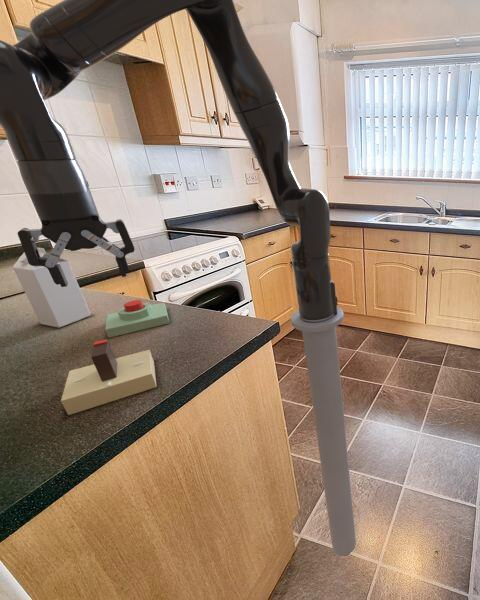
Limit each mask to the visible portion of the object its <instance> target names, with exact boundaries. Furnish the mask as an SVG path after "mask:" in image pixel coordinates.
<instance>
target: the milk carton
mask: <svg viewBox="0 0 480 600" xmlns="http://www.w3.org/2000/svg"><path fill="white" fill-rule="evenodd" d="M37 249H38V251H39V254H40V257H44V258H48V257H49V255H50V253H47V252H46V250H45V248H44V247H43V248H42V247H37ZM57 263H58V264H60V266H61V268H62V270H63V273H64V275H65V277H66V279H67V282H68V286H66V287H61V285H60V284H58V285H57V284H55V283H54V281H53V279H52V277H51V275H50V272H49V270H48V269H47V268H46V267H44V266H31V265H30V264H29V263H28V260H27V257H26V255H25V252H24V251H23V253H22V254H21V255H20V256H19V257H18V259H17V261H16V262H15V263H14V264H13V265H12V269H13V271H14V273H15V275H16V277H17V279H18V281H19V283H20V285H21V287H22V289H23V291H24V293H25V295H26V297H27V299H28V301H29V303H30V305H31V307H32V310H33V311H34V314H35V315H36V317H37V319H38V321H39V324H40V325H44V326H49V327H53V328H62V327H65V326H67V325H70V324H73V323H75V322H78V321H80V320H83V319H86V318H88V317H90V316H92V315H91V314H92V313H91V311H90V309H89V306H88V303H87V302H86V299H85V297H84V295H83V292H82V290H81V288H80V285H79V282H78V280H77V278H76V276H75V273H74V272H73V269H72V267H71V263H70V262H69V260H68V259H64V258H62V257H59V259H58V261H57Z"/></svg>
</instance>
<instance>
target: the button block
mask: <svg viewBox="0 0 480 600" xmlns="http://www.w3.org/2000/svg"><path fill="white" fill-rule="evenodd" d="M142 303H143V306H144V308H143V309H141V310H138V311H133V312H126V310H125V307H124V306H123V307H121V308H120V309H118V311H117V312H116V311H115V312H111V313H107V314H106V321H105V327H104V330H105V333H106V336H107V338H108V339H110V338H114V337H117V336H122V335H126V334H130V333H134V332H138V331H143V330H147V329H152V328H155V327H159V326H163V325H167V324H170V318H169V315H168V310H167V307H166V303H165V302H158V303H154V304H151V303H148V302H142Z"/></svg>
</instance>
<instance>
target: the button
mask: <svg viewBox="0 0 480 600" xmlns="http://www.w3.org/2000/svg"><path fill="white" fill-rule="evenodd" d="M143 303H144V302H143V301H142V300H140V299H136V300H130V301H126V302H125V303H124V304H123V307H125V310H126V312H133V311H138V310H141V309H143V308H144V306H143Z"/></svg>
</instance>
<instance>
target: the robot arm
mask: <svg viewBox="0 0 480 600" xmlns="http://www.w3.org/2000/svg"><path fill="white" fill-rule="evenodd" d="M184 10H186V12H187V13H188V15H189V17H190V18H191V20H192V22H193V24H194V25H195V28H196V29H197V31H198V33H199V35H200V36H201V39H202V40H203V42H204V45H205V46H206V49H207V51H208V53H209V56H210V58H211V60H212V63H213V66H214V68H215V72H216V74H217V76H218V79H219V82H220V84H221V86H222V89H223V92H224V94H225V97H226V99H227V101H228V103H229V105H230V108H231V110H232V112H233V115H234V116H235V118H236V120H237V123H238V125H239V126H240V128H241V131H242V133H243V135H244V137H245V138H246V140H247V142H248V144H249V146H250V148H251V150H252V153H253V155H254V157H255V159H256V162H257V163H258V166H259V168H260V170H261V172H262V174H263V176H264V179H265V182H266V183H267V186H268V189H269V192H270V194H271V197H272V200H273V202H274V206H275V208H276V211H277V212H278V215H279V217H280V218H281V219H282V221H283V222H284V223H286V224H287V225H289V226H291V227H296V228H299V235H300V236H299V240H297V241H294V242H293V243H292V244H291V245H290V256H291V263H292V268H293V276H294V284H295V291H296V297H297V305H298V306H297V307H298V310H299V313H300V314H299V316H300V319H301V320H302V321H304V322H309V323H318V322H323V321H327V320H329V319H331V318H332V317H333V316H335V315H337V307H338V305H339V304H338V296H337V295H336V294H337V293H336V284H335V282H334V281H333V280H332V271H331V262H330V250H329V249H330V248H329V247H330V245H331V244H330V243H331V216H330V215H331V214H330V205H329V202H328V200H327V197H326V195H325V194H324V193H323V192H322V191H321V190H319V189H314V188H303V187H301V186H300V184H299V182H298V181H297V178H296V176H295V174H294V171H293V169H292V166H291V162H290V126H289V122H288V118H287V115H286V113H285V111H284V108H283V105H282V102H281V100H280V98H279V95H278V93H277V91H276V89H275V87H274V85H273V83H272V80H271V79H270V77H269V75H268V73H267V71H266V70H265V68H264V66H263V64H262V62H261V61H260V59H259V58H258V56H257V54H256V52H255V51H254V49H253V47H252V46H251V44H250V42H249V40H248V37H247V35H246V34H245V30H244V29H243V26H242V23H241V21H240V17H239V14H238V13H237V8H236V6H235V4H234V0H61V1H60V2H58V3H55V5H53V6H51V7H49V8H47V9H45V10H44V11H42V12H40V13H39V14H37V15H35V16H34V17H33V18H32V19H31V20H30V22H29V30H30V33H29V34H28V35H26V36H25V37H24V38H22V39H21V40H20V41H18V42H17V43H15V44H10V43H8V42H6V41H3V40H0V127H1V128H2V130H3V132H4V134H5V137H6V139H7V141H8V144H9V147H10V148H11V151H12V153H13V155H14V158H15V160H16V163H17V166H18V169H19V173H20V177H21V179H22V182H23V184H24V186H25V188H26V191H27V194H28V195H29V198H30V200H31V202H32V205H33V207H34V209H35V211H36V213H37V216H38V218H39V221H40V224H41V228H27V227H22V228H21V229H19V230H18V231H17V236H18V240H19V242H20V244H21V247H22V250H23V253H24V252H25V255H26V257H27V260H28V263H29V264H30V265H31V266H44V267H46V268H47V269H48V270H49V272H50V275H51V277H52V279H53V281H54V283H55V284H57V285H58V284H60V285H61V287H66V286H68V282H67V279H66V277H65V275H64V273H63V270H62V268H61V266H60V264H58V263H57V261H58V259H59V258H61V256H62V254H63V252H64V250H66V251H70V252H75V251H79V250H84V249H86V250H91V249H95V248H97V247H100V248H102V249H103V250H105V251H107V252H109V253H110V254H112V255H113V256H115V261H116V264H117V267H118V270H119V272H120V275H121V277H122V278H124V277H127V276H128V274H129V273H130V267H129V264H128V261H127V258H126V256H127V255H128V254H130V253H131V254H132V253H134V252H135V246H134V244H133V240H132V238H131V236H130V233H129V231H128V229H127V226H126V224H125V221H124V220H123V219H120V218H118V219H116V220H112V221H105V222H104V221H103V219H102V218H101V217H100V214H99V211H98V209H97V206H96V203H95V200H94V198H93V195H92V193H91V190H90V184H89V182H88V180H87V179H86V176H85V174H84V171H83V170H82V168H81V166H80V163H79V162H78V160H77V157H76V155H75V152H74V149H73V146H72V143H71V140H70V138H69V135H68V133H67V131H66V129H65V127H63V125H62V124H61V123H59V122H58V121H57V120H56V119H54V118H53V116H52V115H51V112H50V110H49V109H48V106H47V104H46V102H45V101H47V100H49V99H51V98H53V97H55V96H57V95H58V94H60V93H61V92H62V91H64V90H65V89H66V88H67V87H68V86H69V85H70V84H71V83H72V82H73V81H74V80H76V79H77V78H78V76H79V75H80V74H81V73H82V72H84V71H85V70H86V71H87V69H90V68H92V67H94V66H96V65H98V64H99V63H101V62H102V61H104V60H106V59H107V58H109V57H111V56H113V55H114V54H116V53H118V52H119V51H120V50H122V49H123V48H124V47H126V46H127V45H129V44H130V43H132V42H133V41H134V40H135V39H137V38H138V37H139V36H141V35H142V34H143V33H144V32H146V31H147V30H148V29H149V28H151V27H152V26H154V25H156V24H157V23H158V22H161V21H162V20H164V19H165V18H168V17H170V16H172V15H173V14H175V13H178V12H181V11H184ZM107 229H110V230H112V232H113V233H115V234H119V236H120V238H121V240H122V241H121V242H122V244H123V245H124V246H122V247H119V246H118V245H116V244H114V243H113V242H112V241H111V240H109V238H106V237H105V233H106V232H107ZM40 236H43V237H44V238H45V239H48V240H49V241H51V242H52V243H54V244H55V245H54V246H53V248H52V250H51V252H50V253H49V254H50V255H49V257H48V258H44V257H40V254H39V251H38V249H37V248H38V246H37V244H36V243H38V242H39V241H40Z"/></svg>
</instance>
